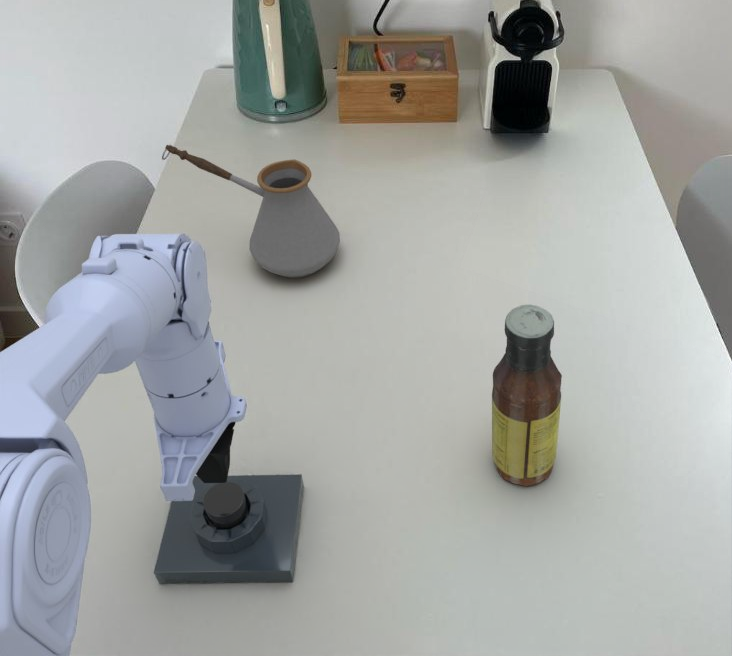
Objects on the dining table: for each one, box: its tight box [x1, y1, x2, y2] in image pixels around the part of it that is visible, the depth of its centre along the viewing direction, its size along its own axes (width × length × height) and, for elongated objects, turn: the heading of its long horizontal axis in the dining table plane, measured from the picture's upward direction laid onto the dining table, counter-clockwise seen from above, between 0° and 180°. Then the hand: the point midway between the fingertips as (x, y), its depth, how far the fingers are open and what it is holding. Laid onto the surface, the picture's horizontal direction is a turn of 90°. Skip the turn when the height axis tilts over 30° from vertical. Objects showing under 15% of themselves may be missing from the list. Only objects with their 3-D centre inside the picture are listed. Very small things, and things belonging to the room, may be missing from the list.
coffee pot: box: [161, 144, 341, 279], centre depth 101 cm, size 21×12×15 cm, turn 74°
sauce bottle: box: [491, 304, 563, 487], centre depth 73 cm, size 7×6×20 cm
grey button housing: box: [153, 473, 305, 585], centre depth 74 cm, size 12×10×4 cm
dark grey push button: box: [203, 482, 248, 529], centre depth 72 cm, size 4×4×2 cm
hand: (216, 476), depth 69 cm, fingers closed
